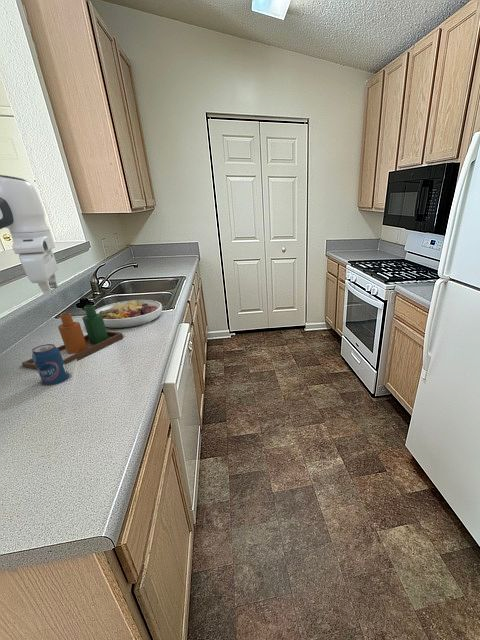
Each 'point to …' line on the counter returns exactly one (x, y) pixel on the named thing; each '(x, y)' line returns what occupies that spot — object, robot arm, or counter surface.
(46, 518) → the counter surface
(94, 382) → the counter surface
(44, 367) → the soda can
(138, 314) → the bowl
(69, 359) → the tray
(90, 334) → the green bottle
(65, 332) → the amber bottle
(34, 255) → the robot arm
